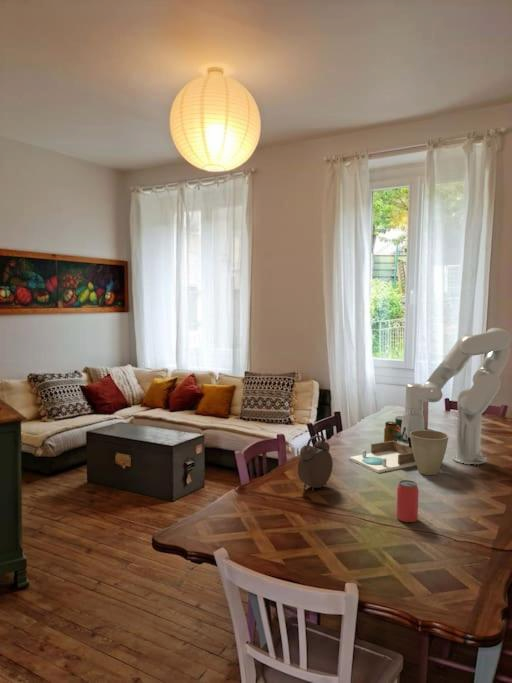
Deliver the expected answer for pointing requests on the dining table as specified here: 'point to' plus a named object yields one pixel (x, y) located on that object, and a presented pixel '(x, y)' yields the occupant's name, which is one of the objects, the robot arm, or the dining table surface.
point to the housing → (405, 450)
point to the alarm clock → (315, 463)
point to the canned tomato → (399, 428)
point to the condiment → (390, 431)
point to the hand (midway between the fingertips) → (412, 451)
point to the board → (380, 461)
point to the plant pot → (428, 450)
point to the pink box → (425, 413)
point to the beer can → (407, 501)
